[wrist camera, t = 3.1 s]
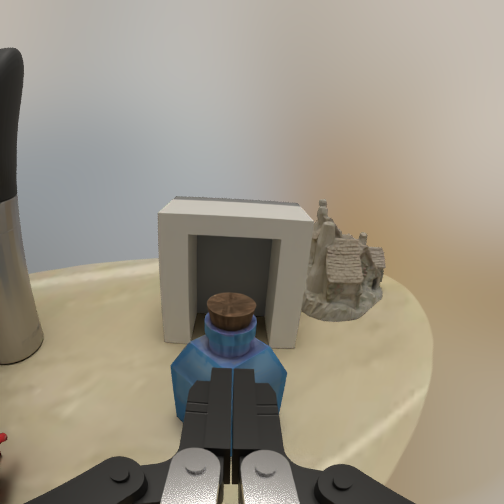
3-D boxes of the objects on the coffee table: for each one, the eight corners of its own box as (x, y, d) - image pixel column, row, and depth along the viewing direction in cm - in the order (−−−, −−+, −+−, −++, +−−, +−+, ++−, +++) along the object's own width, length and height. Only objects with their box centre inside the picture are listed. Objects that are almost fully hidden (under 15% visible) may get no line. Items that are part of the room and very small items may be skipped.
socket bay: (164, 341, 34) (157, 212, 29) (177, 303, 42) (176, 196, 37) (294, 348, 35) (313, 221, 30) (284, 309, 43) (297, 203, 38)
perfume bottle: (224, 460, 20) (228, 344, 16) (176, 416, 24) (164, 298, 20) (277, 422, 24) (298, 306, 20) (228, 387, 28) (233, 275, 24)
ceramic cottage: (293, 318, 41) (316, 207, 36) (291, 273, 56) (306, 192, 52) (397, 330, 40) (429, 230, 36) (370, 286, 56) (389, 208, 51)
